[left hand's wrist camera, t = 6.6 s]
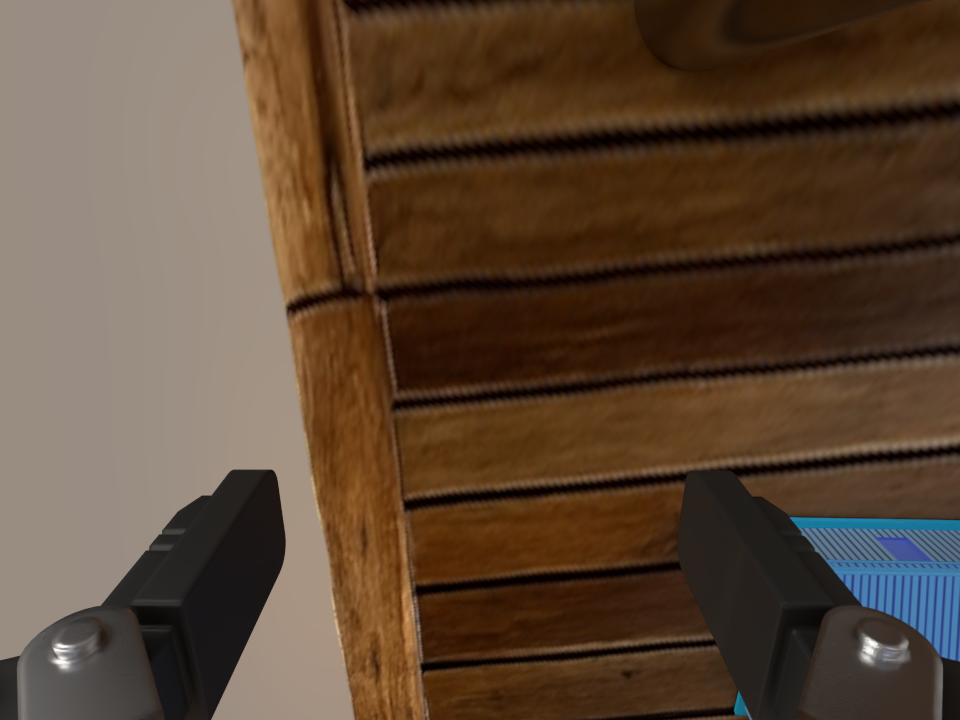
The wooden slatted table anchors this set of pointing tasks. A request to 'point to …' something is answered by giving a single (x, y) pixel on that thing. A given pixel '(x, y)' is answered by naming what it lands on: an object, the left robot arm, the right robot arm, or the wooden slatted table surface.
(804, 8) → the bottle
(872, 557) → the model building
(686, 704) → the wooden slatted table surface
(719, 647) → the left robot arm
